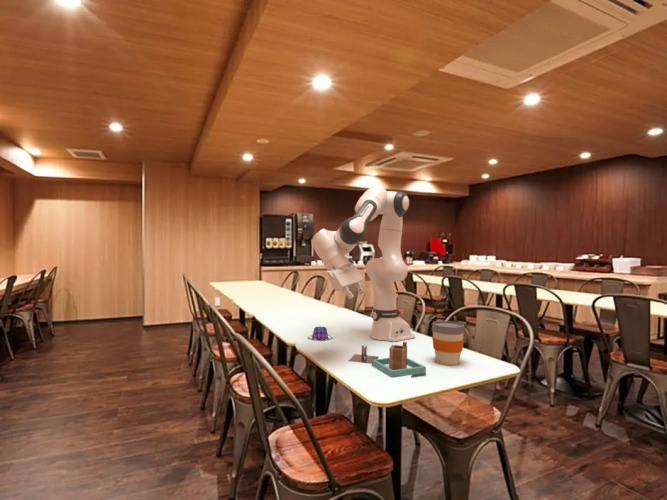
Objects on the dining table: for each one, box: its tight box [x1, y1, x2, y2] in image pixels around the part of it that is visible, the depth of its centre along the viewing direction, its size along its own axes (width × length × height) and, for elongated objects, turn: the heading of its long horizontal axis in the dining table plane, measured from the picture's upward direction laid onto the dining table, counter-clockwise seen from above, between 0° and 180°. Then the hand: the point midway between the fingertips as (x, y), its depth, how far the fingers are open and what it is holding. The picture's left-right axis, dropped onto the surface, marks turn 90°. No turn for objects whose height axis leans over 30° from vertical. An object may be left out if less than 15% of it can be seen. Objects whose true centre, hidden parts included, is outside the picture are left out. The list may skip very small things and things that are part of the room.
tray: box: [371, 357, 427, 378], centre depth 141 cm, size 14×14×3 cm
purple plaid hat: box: [307, 326, 333, 341], centre depth 189 cm, size 12×12×5 cm
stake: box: [348, 345, 380, 365], centre depth 152 cm, size 10×10×6 cm
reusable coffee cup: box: [431, 320, 466, 366], centre depth 154 cm, size 13×13×15 cm
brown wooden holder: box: [388, 341, 408, 370], centre depth 141 cm, size 6×6×10 cm
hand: (357, 295), depth 150 cm, fingers open, 8 cm apart
